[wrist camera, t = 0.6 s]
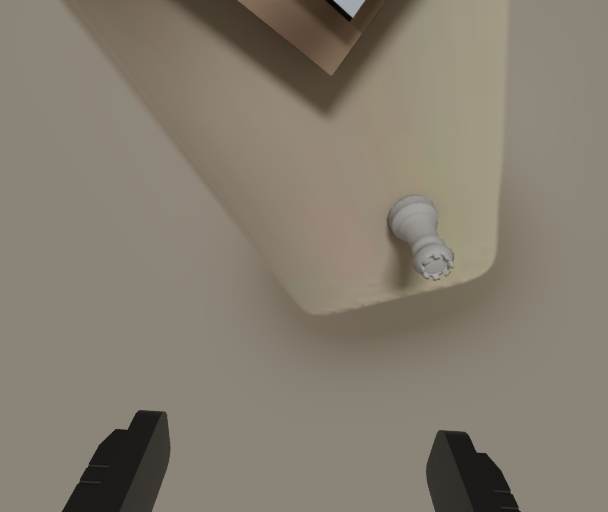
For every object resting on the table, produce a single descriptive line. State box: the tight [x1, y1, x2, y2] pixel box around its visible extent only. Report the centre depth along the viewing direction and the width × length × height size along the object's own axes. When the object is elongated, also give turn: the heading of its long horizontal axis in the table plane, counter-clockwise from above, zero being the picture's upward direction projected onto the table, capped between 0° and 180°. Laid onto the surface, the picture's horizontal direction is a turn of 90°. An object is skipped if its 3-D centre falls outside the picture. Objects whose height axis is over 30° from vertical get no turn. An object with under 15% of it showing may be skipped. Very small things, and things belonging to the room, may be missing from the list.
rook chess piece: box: [388, 195, 454, 280], centre depth 33 cm, size 4×4×8 cm
